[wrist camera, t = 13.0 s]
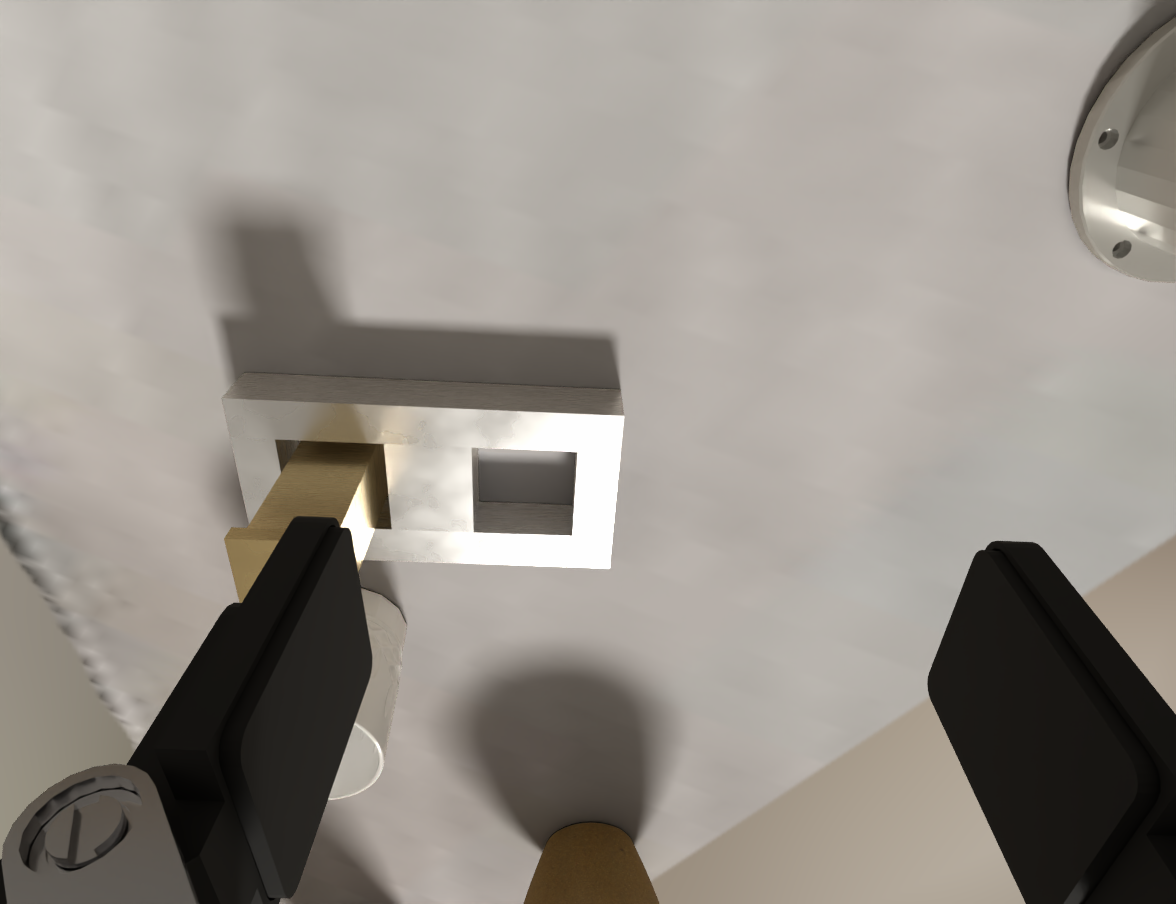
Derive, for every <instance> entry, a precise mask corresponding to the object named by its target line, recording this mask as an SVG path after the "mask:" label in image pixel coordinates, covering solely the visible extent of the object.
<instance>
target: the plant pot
mask: <svg viewBox="0 0 1176 904" xmlns="http://www.w3.org/2000/svg"><path fill="white" fill-rule="evenodd" d="M524 904H659V901H658V899H657V896H656V894H655V891H654V889H653V886H652V884H651V881H650V879H649V877H648V874H647V872H646V870H645V868H644V865H643V863H642V861H641V859H640V857H639V855H638V852H637V850H636V848H635V846H634V844H633V842H632V840H631V838H630V837H629V836H628V835H627V834H626V833H625V832H624V831H622V830H621V829H619V828H617V827H614V826H611V825H607V824H602V823H580V824H575V825H571V826H568V827H565V828H563V829H561V830H559V831H557V832H556V833H554V834H553V835H552V836H551V837H550V838H549V840H548V841H547V843H546V846H545V848H544V850H543V853H542V855H541V858H540V860H539V863H538V865H537V868H536V870H535V873H534V876H533V878H532V881H531V884H530V886H529V889H528V892H527V895H526V898H525V901H524Z"/></svg>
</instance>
